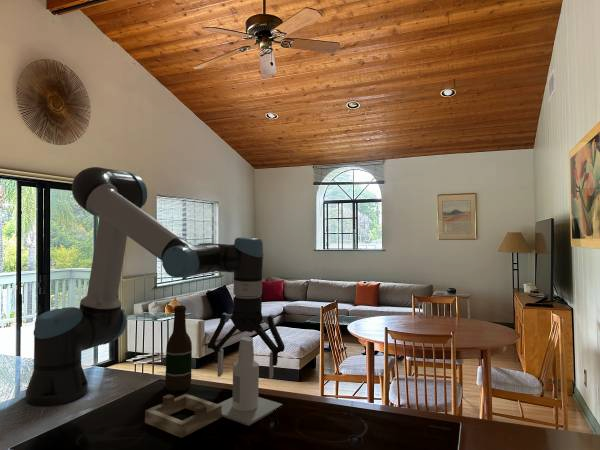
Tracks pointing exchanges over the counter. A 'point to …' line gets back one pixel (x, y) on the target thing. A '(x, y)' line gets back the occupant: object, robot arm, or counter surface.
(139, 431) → the counter surface
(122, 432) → the counter surface
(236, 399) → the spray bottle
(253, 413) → the mat
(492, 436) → the counter surface
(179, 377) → the beer bottle
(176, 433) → the wooden square frame
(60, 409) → the counter surface
